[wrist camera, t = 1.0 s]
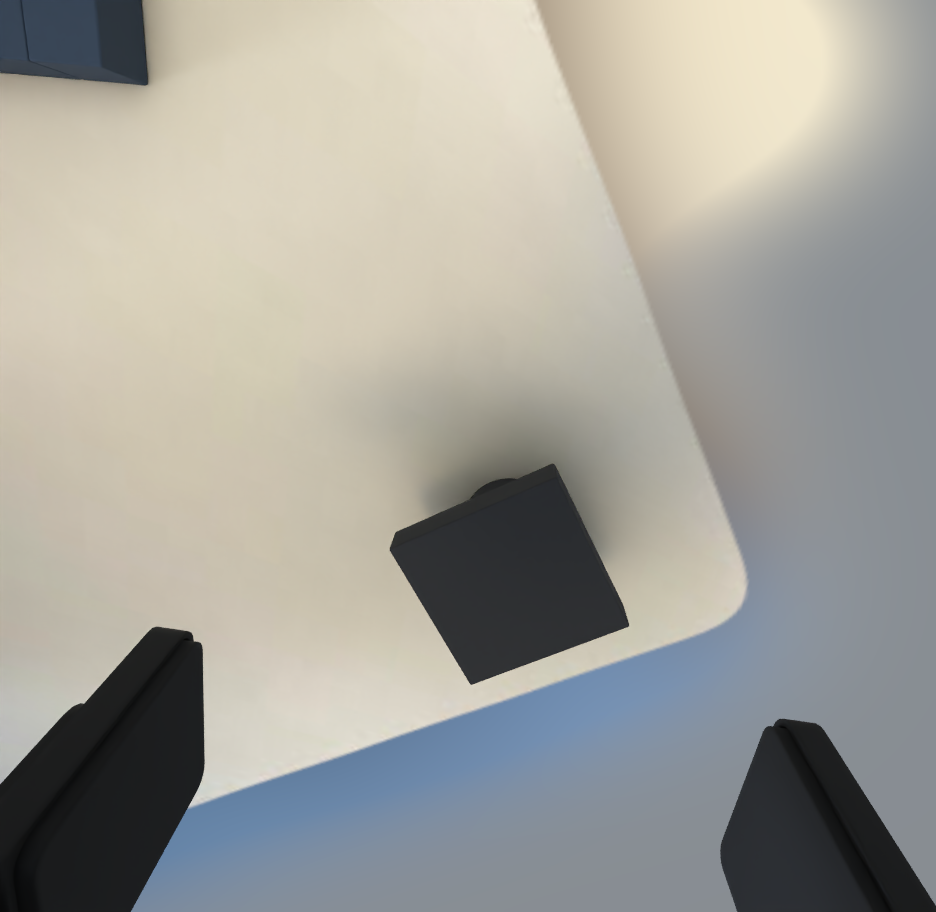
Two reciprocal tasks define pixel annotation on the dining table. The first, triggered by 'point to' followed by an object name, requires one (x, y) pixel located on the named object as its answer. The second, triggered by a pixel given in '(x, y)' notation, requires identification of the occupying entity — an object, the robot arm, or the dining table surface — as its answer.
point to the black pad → (510, 575)
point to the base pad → (74, 39)
